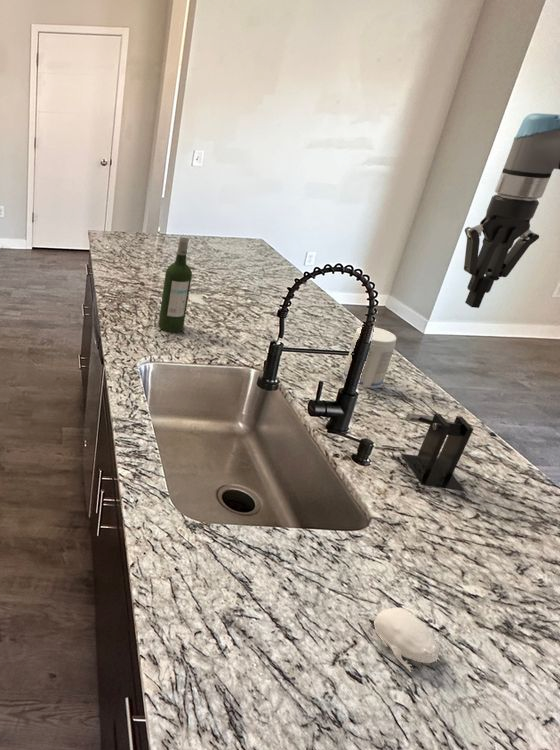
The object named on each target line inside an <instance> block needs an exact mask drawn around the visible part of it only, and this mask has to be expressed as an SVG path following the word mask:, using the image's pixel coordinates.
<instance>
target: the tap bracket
mask: <svg viewBox="0 0 560 750" xmlns="http://www.w3.org/2000/svg"><path fill="white" fill-rule="evenodd" d="M433 416H434V417H433V420H432V422H431V424H430V425H429V427H428V429H427V431H426V434H425V436H424V439H423V440H422V443H421V446H420V448H419V451H418V452H417V455H416V454H408V453H400V455H401V457H402V458H403V459H404V461H405V463H406V464H407V466H408V467H409V469H410V470H411V472H412V473H413V475H414V476H415V478H416V480H417V481H418V482H419V483H420V485H421V486H426V487H432V488H439V489H447V490H455V491H461V492H465V491H466V490H465V489H464V487H463V486H462V485H461V483H460V482H459V480H458V479H457V478H456V477H455V476H454V475H455V474H454V473H455V470H456V468H457V466H458V464H459V462H460V460H461V456H462V455H463V453H464V452H465V449H466V446H467V444H468V442H469V440H470V438H471V436H472V434H473V431H474V428H473V427H472V425H470V424H469V422H468V421H467V420H466V419H465V418H464V417H463V416H461V415H457V416H456V417H455V419H454V421H453V422H455V423H458V424H461V433H460V437H459V436H451V435H447V434H448V432H449V429H450V427H451V426H450V425H449V424H448V423H447V420H446V419H445V418H444V416H443V415H442V414H441V413H434V415H433Z"/></svg>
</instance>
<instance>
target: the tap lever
mask: <svg viewBox="0 0 560 750" xmlns="http://www.w3.org/2000/svg"><path fill="white" fill-rule="evenodd" d="M405 417H406V418H405V419H406V421H407V422H411V423H417V424H426V425H429V426H430V424H431V422H432V420H433V417H434V415H427V414H418V413H410V412H408V413H407V414H406V416H405ZM446 421H447V420H446ZM447 423H448V424H449V425H450V426H451V427H450V429H449V432H448V434H447V436H448V435H451V436H459V437H460V433H461V424H458V423H455V422H454V421H447Z"/></svg>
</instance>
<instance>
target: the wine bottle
mask: <svg viewBox="0 0 560 750" xmlns="http://www.w3.org/2000/svg"><path fill="white" fill-rule="evenodd" d="M189 240H190V238H189V236H188V235H180V236H179V239H178V244H177V245H178V246H177V251H176V256H175V261H174V262H172V263H171V264H170V265H169V266H168V267H167V268H166V269H165V275H164V281H163V289H162V296H161V304H160V310H159V318H158V327H159V329H161V330H162V331H165V332H169V333H178V332H179V333H180V332H181V331H182V330H183V329H184V324H185V319H186V312H187V306H188V302H189V295H190V294H189V293H190V289H191V283H192V278H193V277H192V276H193V273H192V269H191V267H190V266H189V265H188V264H187V256H188V255H187V254H188V247H189Z"/></svg>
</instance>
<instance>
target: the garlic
mask: <svg viewBox="0 0 560 750" xmlns="http://www.w3.org/2000/svg"><path fill="white" fill-rule="evenodd" d="M373 626H374V629H375V633H376V634H377V635H378V637H379V638H380V639H381V641H382V642H383V643H384V646H386V647H387V648H390V650H391V651H392V653H393V656H394V657H395V658H396V660H398V662H400V663H401V665H403V666H404V667H405V668H406V669H407V670H408V671H409V672H410V673H412V671H414V668H413V665H412V664H410V663H408V660H411V661H415V662H417V663H425V664H431V663H434V662H436V663H438V661H439V662H440V663H442V660H441V659H440V658H439V651H440V647H439V644H438V643H437V641H436V638H435V636H434V635H433V633H432V632H431V631H430V629H429V628H428V627H426V626H425V624H424V623H423V621H421V620H420V619H419V618H418V617H417V616H416V615H414V614H413V613H412V612H410V611H409V610H407V609H405V608H403V607H391V608H386V609H384V610H382V611H380V612H379V613H377V614H376V617H375V620H374V622H373ZM402 657H404V658H406V660H404V659H403V658H402ZM407 659H408V660H407ZM411 666H412V667H411Z"/></svg>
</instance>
